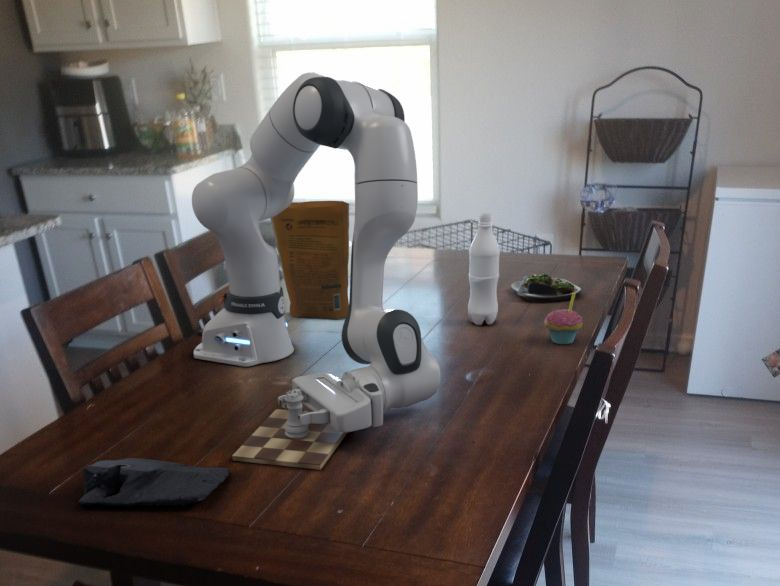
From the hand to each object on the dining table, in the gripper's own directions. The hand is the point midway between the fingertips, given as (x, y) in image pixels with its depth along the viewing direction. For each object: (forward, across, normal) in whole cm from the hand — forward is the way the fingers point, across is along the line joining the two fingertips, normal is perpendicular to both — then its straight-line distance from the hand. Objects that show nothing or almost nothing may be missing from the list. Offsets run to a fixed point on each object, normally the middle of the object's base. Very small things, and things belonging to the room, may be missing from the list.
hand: (289, 410), depth 147 cm
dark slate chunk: (+26, +4, +6) cm, 27 cm away
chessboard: (-1, 0, +6) cm, 6 cm away
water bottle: (-66, -35, +6) cm, 75 cm away
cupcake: (-73, -14, +6) cm, 75 cm away
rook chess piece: (-1, 0, +5) cm, 5 cm away
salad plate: (-93, -45, +6) cm, 103 cm away
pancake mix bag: (-35, -62, +6) cm, 72 cm away
